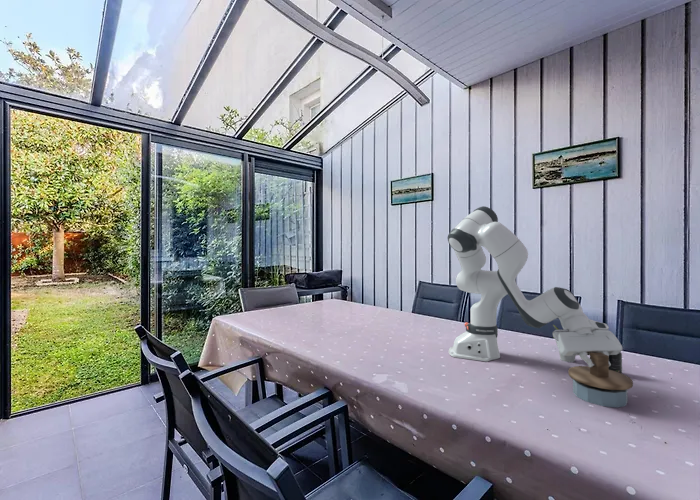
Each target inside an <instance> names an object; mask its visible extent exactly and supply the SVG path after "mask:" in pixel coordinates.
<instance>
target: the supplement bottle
mask: <svg viewBox="0 0 700 500" xmlns="http://www.w3.org/2000/svg"><path fill="white" fill-rule="evenodd" d="M609 362H610V364H611V366H609V370H612V371H616V372H619V373H621V374H623V353H622V351H621V352H620V353H618V354H617V355H609Z"/></svg>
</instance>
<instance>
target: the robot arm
mask: <svg viewBox="0 0 700 500" xmlns="http://www.w3.org/2000/svg"><path fill="white" fill-rule="evenodd" d="M447 241H448V244H449V246H450V247H451V249H453V252H454V253H455V255H456V257H457V259H458V262H459V264H460V268H461V270H460V271H459V272H458V273H457V275H456V278H455V284H456V286H457V289H459V290H460V291H463V292H465V293H470V294H478V295H481V297H480V299H479V301H477V302H475V303H474V304H472V305H471V307H470V310H469V311H470V322H466V321H465V323H464V327H465V331H464V332H463V333H461V334H460V335H458V336H456V338H455V339H454V341H453V346H450V347H449V349H448V354H449V356H451V357H452V358H458V359H465V360H473V361H482V362H490V361H493V360H499V359H500V358H501V353H500V349H499V344H498V336H499V335H498V333H499V332H498V331H499V328H498V325H497V311H498V307H499V304H500V302H501V300H502V299H504V298H505V296H507V295H508V297H510V300H511V301H512V303H513V304H514V306H515V307H516V309H517V311H518V313H519V314H520V317H521V319H522V321H523V322H524V323H525V325H527V326H528V327H532V328H535V329H541V328H542V327H544V326H546V325H547V324H548V323H550V322H552V321H555V320H556V319H559V321H560V325H561V327H562V329H559V328H558V329H559V330H558V329H556V330H555V329H554V331H552V336H553V337H554V338H553V337H552V338H553V339H554V340H555V344H556V346H557V349H558V352H559V351H560V353H561V354H562V355H564V356H576V357H577V356H579V359H581V360H582V361H584V362H585V363H586V364H587V366H589V367H595V366H596V363H595V361H594V360H591V359H590V353H597V352H600V353H603V354H605V355H608V356H609V355H617V354H618V353H620V352H621V353H622V351H623V345H622V344H621V342H620V340H619V339H618V337H616V335H615V334H614V333H613V331H611V330H609V329H610V328H609V325H608V324H607V323H604V322H600V321H596V320H593V319H590V318H589V317H588V316H587V315H586V314H585V312H584V311H583V307H582V306H581V304H580V302H579V300H578V299H577V297H576V296H575V294H574V293H573V292H572V291H570V290H569V289H568V288H565V287H560V286H559V287H558V286H554V287H552V288H550V289H548V290H546V291H545V292H543V293H541V294H540V295H537V296H536V297H534V298H533V299H531V300H529V299H527V298H526V297H525V295H524V294H523V292H522V290H521V288H520V287H519V285H518V284H517V282H516V279H517V276H518V275H519V273H520V272H522V269H523V268H524V267H525V265H526V263H527V260H528V255H529V251H528V249H527V247H526V246H525V244H524V243H523V242H522V240H521V239H520V238H519V237H517V235H516V234H515V233H514V232H512V230H510V229H509V228H508V227H507V226H505V225H504V224H503V223H501V222H499V219H498V216H497V213H496V212H495V211H494V210H493V209H492V208H490V207H488V206H479V207H477V208H476V209H474V210H473V211H472V212H471V213H469V214H467V215H466V216H465V217H464V218H462V220H461V221H460V222H459V223H458V224H457V225H456V226H455V227H454V228H452V229H451V230H450V232H449V233H448V235H447ZM483 248H485V249H486V250H487V252H488V253H489V254H490V255H491V256H492V258H493V259H494V260H495V261H496V264H497V267H498V268H497V270H483V269H482V268H483V267H484V266H485V264H486V263H487V256H486V254H485V251H484V249H483ZM588 356H589V357H588ZM609 366H611V364H610V362H609Z"/></svg>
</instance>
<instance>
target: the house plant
mask: <svg viewBox="0 0 700 500" xmlns="http://www.w3.org/2000/svg"><path fill="white" fill-rule="evenodd" d="M552 326H553V327H554V331H555V330H557V329H558V330H560V328H558V327H557V326H556V325H555V324H552ZM552 339H555V338H554V337H552ZM558 353H559V358H560V360H561V361H562V362H566V363H575V361H576V357H577V356H564V355H562V354H561V353H560V351H559V350H558Z"/></svg>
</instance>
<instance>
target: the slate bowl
mask: <svg viewBox="0 0 700 500" xmlns="http://www.w3.org/2000/svg"><path fill="white" fill-rule="evenodd" d="M628 391H629V389H627V390H609V389H602V388H597V387H593V386H589V385H586V384H583V383H580V382H578V381H576V380H574V379H572V393H573V394H574V395H575V396H576V398H578V399H580V400H582V401H584V402H586V403H590V404H593V405H597V406H601V407H608V408H622V407H626V406H627V404H628V403H629V401H628V398H629V397H628V394H629V393H628Z"/></svg>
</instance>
